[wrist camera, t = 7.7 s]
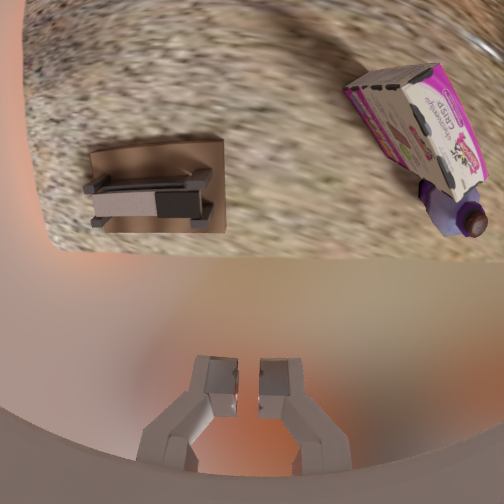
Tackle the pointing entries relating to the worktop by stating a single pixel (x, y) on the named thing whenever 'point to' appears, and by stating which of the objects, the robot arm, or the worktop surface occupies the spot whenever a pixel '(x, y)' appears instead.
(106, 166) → the walnut base plate
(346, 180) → the worktop surface
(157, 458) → the robot arm
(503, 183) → the worktop surface
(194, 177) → the block
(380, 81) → the candy bar box
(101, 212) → the clamp bar
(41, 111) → the worktop surface
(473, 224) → the potion bottle
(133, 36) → the worktop surface
